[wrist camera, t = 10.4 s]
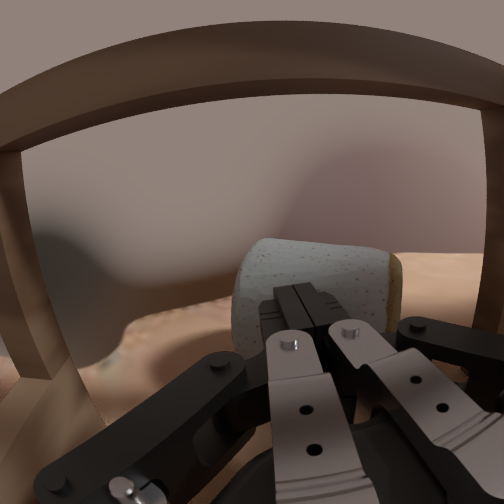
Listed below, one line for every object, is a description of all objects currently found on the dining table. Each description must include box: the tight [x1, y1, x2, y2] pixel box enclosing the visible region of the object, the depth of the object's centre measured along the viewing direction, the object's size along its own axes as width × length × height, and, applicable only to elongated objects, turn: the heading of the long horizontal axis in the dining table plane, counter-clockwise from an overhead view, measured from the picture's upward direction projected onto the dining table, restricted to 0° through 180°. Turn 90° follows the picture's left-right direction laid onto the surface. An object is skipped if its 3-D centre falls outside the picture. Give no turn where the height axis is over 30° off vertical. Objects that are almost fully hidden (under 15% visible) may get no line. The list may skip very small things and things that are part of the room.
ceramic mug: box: [231, 238, 403, 360], centre depth 18 cm, size 11×8×8 cm
